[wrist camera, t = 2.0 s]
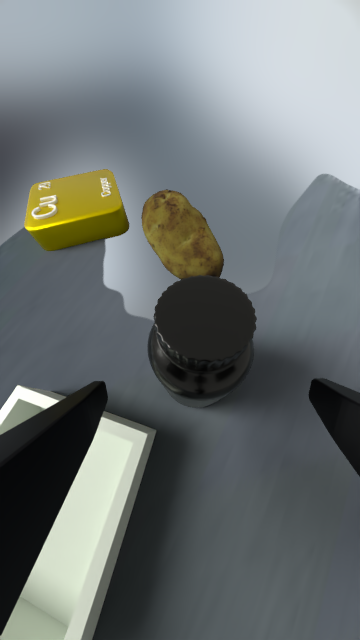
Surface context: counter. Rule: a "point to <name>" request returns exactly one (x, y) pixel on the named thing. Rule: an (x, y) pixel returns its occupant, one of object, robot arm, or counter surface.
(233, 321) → the supplement bottle
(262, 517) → the counter surface
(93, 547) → the sage tray
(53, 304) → the counter surface
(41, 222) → the element tile
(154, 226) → the potato
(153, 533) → the counter surface
